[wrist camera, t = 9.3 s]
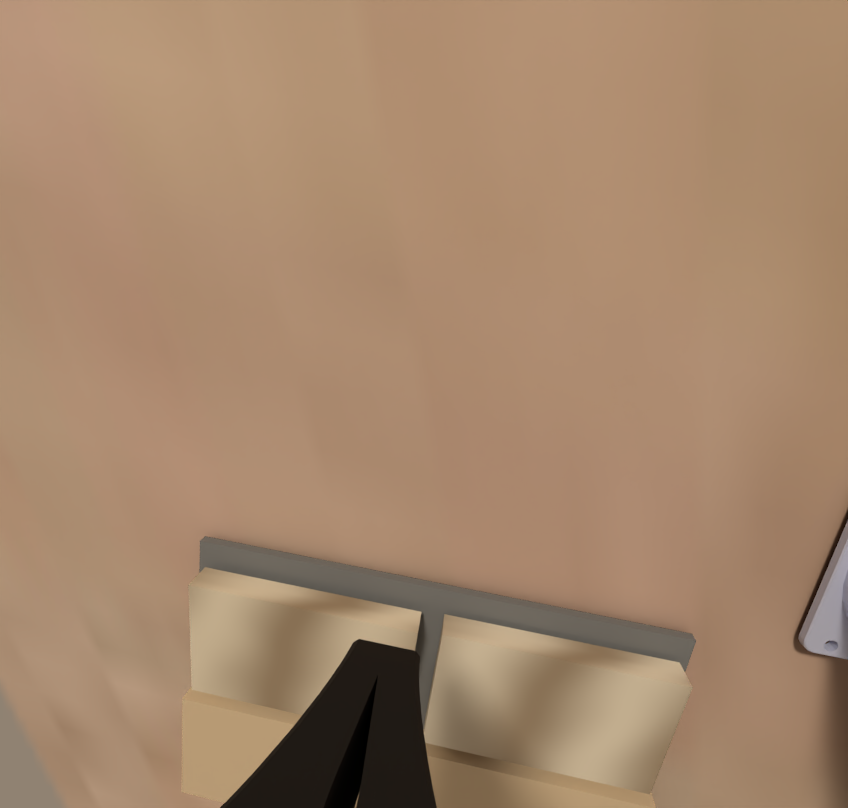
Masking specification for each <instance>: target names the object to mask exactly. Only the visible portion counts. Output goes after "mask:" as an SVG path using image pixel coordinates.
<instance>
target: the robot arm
mask: <svg viewBox="0 0 848 808" xmlns="http://www.w3.org/2000/svg"><path fill="white" fill-rule="evenodd" d="M798 639H799V641H800V643H801V644H802V645H803V646H804V647H805V648H806V649H807V650H808V651H810V652H812V653H817V654H822V655H827V656H832V657H837V658H842V659H847V660H848V521H847V523H846V525H845V528H844V530H843V532H842V535H841V537H840V540H839V542H838V544H837V547H836V549H835V551H834V554H833V556H832V558H831V561H830V563H829V565H828V568H827V570H826V572H825V575H824V577H823V580H822V582H821V584H820V587H819V589H818V591H817V594H816V596H815V598H814V601H813V603H812V605H811V608H810V610H809V612H808V615H807V617H806V620H805V622H804V624H803V627H802V629H801V631H800V634H799V638H798ZM828 641H829V643H826V642H828ZM825 643H826V644H825ZM419 664H420V656H419V655H418V653H417V652H416V651H414V650H409V649H404V648H400V647H395V646H390V645H386V644H381V643H376V642H372V641H367V640H362V639H358V640H356V641H355V642H353V644H352V645H351V647H350V649H349V651H348V652H347V654H346V655H345V657H344V659H343V660H342V662H341V663H340V665H339V666H338V668H337V669H336V671H335V672H334V674H333V675H332V677H331V678H330V679H329V681H328V682H327V683H326V685H325V686H324V688H323V689H322V690H321V692H320V693H319V694H318V696H317V697H316V698H315V700H314V701H313V702H312V703H311V705H310V706H309V707H308V708H307V710H306V711H305V712H304V714H303V715H302V716H301V717H300V719H299V720H298V721H297V723H296V724H295V725H294V726H293V727H292V729H291V730H290V731H289V732H288V734H287V735H286V736H285V737H284V738H283V739H282V740H281V742H280V743H279V744H278V745H277V746H276V747H275V748H274V750H273V751H272V752H271V753H270V754H269V755H268V757H267V758H266V759H265V760H264V761H263V762H262V763H261V765H260V766H259V767H258V768H257V769H256V770H255V771H254V772H253V774H252V775H251V776H250V777H249V778H248V779H247V780H246V781H245V782H244V783H243V784H242V785H241V787H240V788H239V789H238V790H237V791H236V792H235V793H234V794H233V795H232V796H231V797H230V798H229V799H228V800H227V801H226V802H225V803H224V804H223V805H222V806H221V807H220V808H355V804H356V801H357V798H358V801H357V806H356V808H437V806H436V801H435V796H434V791H433V786H432V781H431V775H430V770H429V764H428V757H427V751H426V744H425V738H424V731H423V723H422V714H421V703H420V689H419ZM358 795H359V796H358Z"/></svg>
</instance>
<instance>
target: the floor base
mask: <svg viewBox="0 0 848 808" xmlns="http://www.w3.org/2000/svg"><path fill="white" fill-rule="evenodd" d="M205 567H207V568H211V569H216V570H221V571H226V572H231V573H236V574H241V575H245V576H250V577H255V578H260V579H265V580H270V581H275V582H279V583H284V584H289V585H294V586H299V587H304V588H309V589H313V590H318V591H323V592H328V593H333V594H338V595H342V596H347V597H352V598H357V599H362V600H367V601H372V602H376V603H381V604H386V605H391V606H396V607H401V608H406V609H410V610H415V611H420V612H421V618H420V624H419V630H418V636H417V642H416V649H415V651H416V652H417V653H418V655H419V656H420V664H419V689H420V703H421V714H422V723H423V731H424V725H425V717H426V712H427V706H428V701H429V695H430V690H431V685H432V679H433V674H434V668H435V663H436V657H437V652H438V647H439V641H440V636H441V630H442V625H443V619H444V614H446V615H451V616H456V617H461V618H466V619H471V620H476V621H480V622H485V623H490V624H495V625H500V626H505V627H510V628H514V629H519V630H524V631H529V632H534V633H539V634H544V635H549V636H553V637H558V638H563V639H568V640H573V641H578V642H583V643H587V644H592V645H597V646H602V647H607V648H612V649H617V650H621V651H626V652H631V653H636V654H641V655H646V656H651V657H655V658H660V659H665V660H670V661H675V662H680V664H681V666H682V668H683V670H684V672H685V671H686V668H687V665H688V662H689V659H690V657H691V654H692V651H693V648H694V645H695V643H696V640H695V638H694V637H693V635H692V634H690V633H685V632H680V631H675V630H670V629H665V628H660V627H655V626H651V625H646V624H641V623H636V622H631V621H626V620H621V619H616V618H611V617H606V616H601V615H596V614H591V613H586V612H581V611H576V610H571V609H566V608H561V607H556V606H551V605H546V604H541V603H536V602H531V601H526V600H521V599H516V598H511V597H506V596H501V595H496V594H491V593H486V592H481V591H476V590H471V589H466V588H461V587H456V586H451V585H446V584H441V583H436V582H431V581H426V580H421V579H416V578H411V577H406V576H401V575H396V574H391V573H386V572H381V571H376V570H371V569H366V568H361V567H356V566H351V565H346V564H341V563H336V562H331V561H326V560H321V559H316V558H311V557H306V556H301V555H296V554H291V553H286V552H281V551H276V550H271V549H266V548H261V547H256V546H251V545H246V544H241V543H236V542H231V541H226V540H221V539H216V538H211V537H206V536H205V537H204V538H203V539H202V540H201V541H200V572H201V571H202V570H203V569H204V568H205ZM301 716H302V715H300V714H295V713H291V712H287V711H282V710H278V709H274V708H269V707H265V706H261V705H256V704H252V703H247V702H243V701H239V700H234V699H230V698H226V697H221V696H217V695H213V694H208V693H204V692H200V691H195V690H192V686H191V688H190V689H189V690H188V692H187V693H186V695H185V696H184V697H183V699H182V792H183V793H187V794H191V795H195V796H199V797H203V798H207V799H211V800H215V801H219V802H223V803H225V802H226V801H227V800H228V799H229V798H230V797H231V796H232V795H233V794H234V793H235V792H236V791H237V790H238V789H239V788H240V787H241V785H242V784H243V783H244V782H245V781H246V780H247V779H248V778H249V777H250V776H251V775H252V774H253V772H254V771H255V770H256V769H257V768H258V767H259V766H260V765H261V763H262V762H263V761H264V760H265V759H266V758H267V757H268V755H269V754H270V753H271V752H272V751H273V750H274V748H275V747H276V746H277V745H278V744H279V743H280V742H281V740H282V739H283V738H284V737H285V736H286V735H287V734H288V732H289V731H290V730H291V729H292V727H293V726H294V725H295V724H296V723H297V721H298V720H299V719H300V717H301ZM425 744H426V751H427V757H428V764H429V770H430V775H431V781H432V786H433V791H434V796H435V801H436V806H437V808H656V806H655V803H654V800H653V797H652V794H651V793H650V794H646V793H642V792H637V791H633V790H628V789H624V788H620V787H615V786H611V785H607V784H602V783H598V782H594V781H589V780H585V779H581V778H576V777H572V776H567V775H563V774H559V773H554V772H550V771H546V770H541V769H537V768H533V767H528V766H524V765H520V764H515V763H511V762H506V761H502V760H498V759H493V758H489V757H485V756H480V755H476V754H472V753H467V752H463V751H459V750H454V749H450V748H445V747H441V746H437V745H432V744H428V743H425ZM358 796H359V795H358ZM357 801H358V798H357ZM357 801H356V804H355V808H356V806H357Z"/></svg>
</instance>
